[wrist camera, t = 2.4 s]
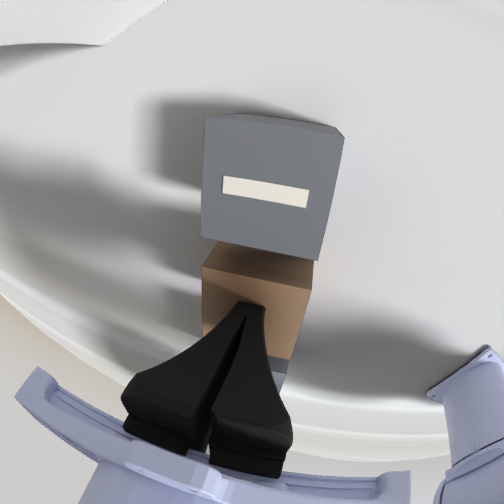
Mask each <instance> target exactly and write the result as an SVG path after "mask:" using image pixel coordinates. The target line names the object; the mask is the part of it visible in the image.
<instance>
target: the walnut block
mask: <svg viewBox="0 0 504 504" xmlns="http://www.w3.org/2000/svg"><path fill="white" fill-rule="evenodd" d="M313 265H314V260H311V259H306V258H301V257H296V256H292V255H287V254H282V253H277V252H272V251H267V250H262V249H257V248H252V247H247V246H243V245H238V244H233V243H228V242H223V241H219V242H218V244H217V245H216V246H215V248H214V249H213V251H212V252H211V254H210V255H209V257H208V258H207V259H206V261H205V262H204V264H203V265H202V326H203V337H204V336H205V335H206V334H207V333H208V332H210V331H211V330H212V329H213V328H214V327H215V326H216V325H217V324H218V323H219V322H220V321H221V320H222V319H223V318H224V317H225V316H226V315H227V314H228V313H229V311H230V310H231V309H232V308H233V307H234V305H235V304H236V303H237V302H238V301H242V302H247V303H251V304H256V305H260V306H264V307H265V308H266V310H265V316H264V333H265V343H266V349H267V355H269V356H274V357H279V358H283V359H288V360H290V358H291V355H292V352H293V349H294V346H295V343H296V340H297V337H298V334H299V330H300V327H301V324H302V321H303V317H304V314H305V311H306V307H307V304H308V301H309V297H310V294H311V290H312V278H313Z"/></svg>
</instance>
